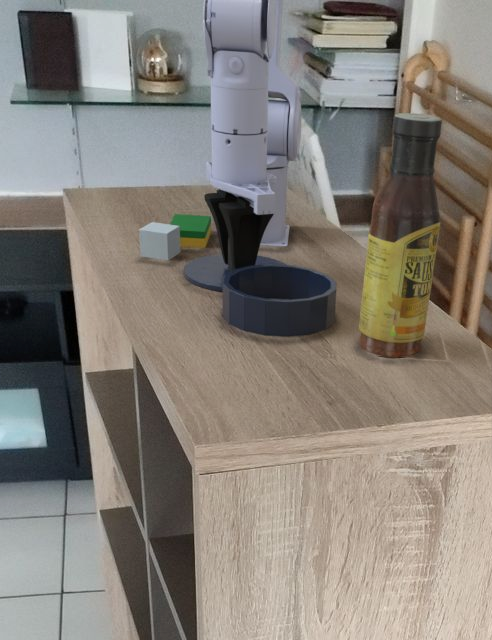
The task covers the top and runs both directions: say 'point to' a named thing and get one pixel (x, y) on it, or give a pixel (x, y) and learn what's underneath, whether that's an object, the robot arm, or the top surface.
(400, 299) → the sauce bottle
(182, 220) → the scrubber
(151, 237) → the ice cube
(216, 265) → the lid
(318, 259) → the top surface
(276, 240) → the robot arm
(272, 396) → the top surface
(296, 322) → the pot
